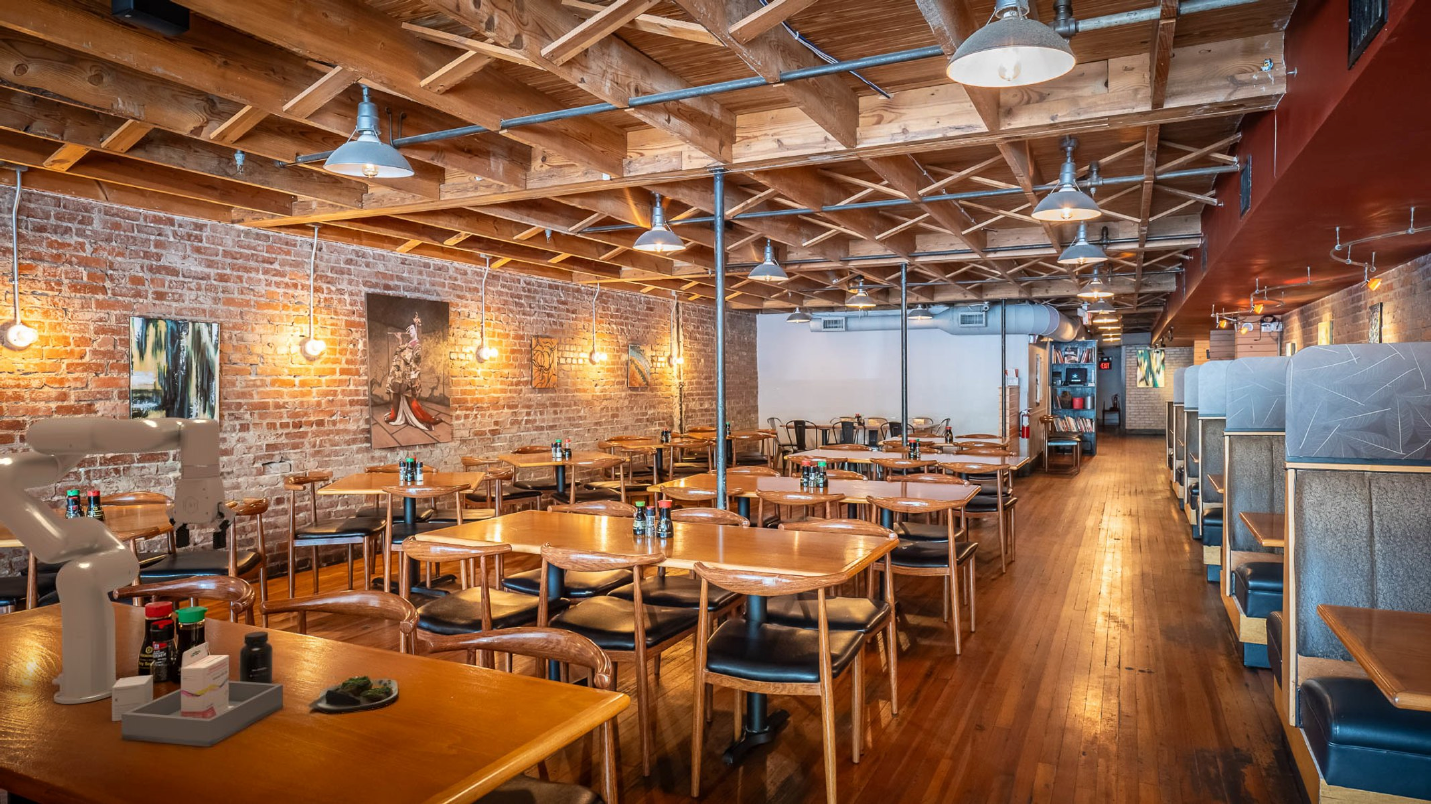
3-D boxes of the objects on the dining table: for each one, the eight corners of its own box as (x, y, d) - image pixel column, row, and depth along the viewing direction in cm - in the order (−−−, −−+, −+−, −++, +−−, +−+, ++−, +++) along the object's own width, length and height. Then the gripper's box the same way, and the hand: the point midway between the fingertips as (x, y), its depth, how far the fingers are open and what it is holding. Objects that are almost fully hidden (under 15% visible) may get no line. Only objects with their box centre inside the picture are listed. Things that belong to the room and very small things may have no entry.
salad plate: (318, 688, 188) (317, 668, 188) (400, 679, 194) (400, 660, 194) (306, 720, 170) (305, 698, 170) (397, 708, 176) (397, 687, 176)
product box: (111, 722, 168) (110, 687, 168) (120, 711, 174) (119, 677, 174) (146, 717, 170) (145, 683, 170) (153, 707, 176) (153, 674, 176)
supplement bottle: (257, 691, 185) (257, 639, 185) (232, 689, 187) (231, 637, 187) (279, 680, 192) (279, 630, 192) (254, 679, 193) (254, 629, 193)
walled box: (121, 739, 160) (121, 714, 160) (203, 701, 179) (203, 678, 179) (209, 747, 156) (209, 721, 156) (283, 707, 176) (282, 684, 176)
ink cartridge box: (204, 726, 163) (203, 653, 163) (180, 726, 163) (179, 653, 163) (230, 709, 171) (229, 640, 171) (207, 709, 172) (206, 640, 171)
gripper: (153, 473, 181) (154, 549, 181) (220, 475, 178) (221, 552, 178) (181, 470, 189) (182, 543, 189) (246, 471, 186) (246, 546, 186)
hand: (201, 547), depth 184 cm, fingers open, 9 cm apart
